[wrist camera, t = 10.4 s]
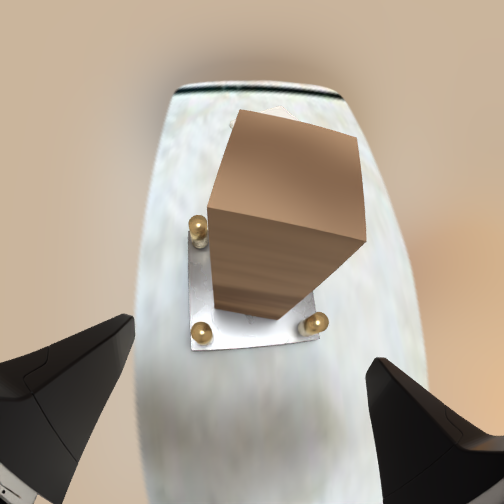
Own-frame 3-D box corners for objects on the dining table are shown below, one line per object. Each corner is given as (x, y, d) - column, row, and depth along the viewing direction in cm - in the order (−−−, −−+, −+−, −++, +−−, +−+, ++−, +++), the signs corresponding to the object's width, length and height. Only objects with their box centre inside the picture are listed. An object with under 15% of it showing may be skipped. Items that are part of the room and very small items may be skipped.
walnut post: (277, 320, 21) (366, 241, 8) (214, 308, 21) (207, 207, 8) (285, 262, 23) (356, 137, 10) (227, 250, 23) (239, 109, 10)
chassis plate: (315, 339, 21) (334, 333, 18) (192, 351, 20) (186, 347, 16) (298, 232, 25) (310, 209, 22) (189, 236, 24) (184, 212, 20)
